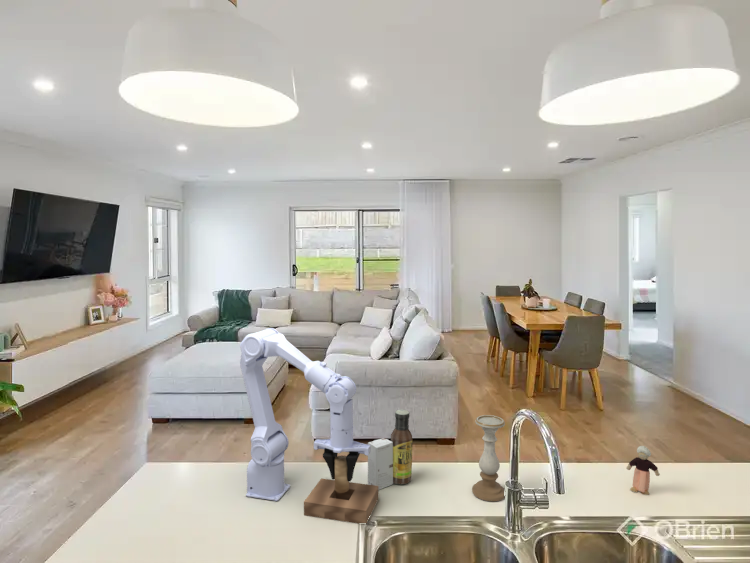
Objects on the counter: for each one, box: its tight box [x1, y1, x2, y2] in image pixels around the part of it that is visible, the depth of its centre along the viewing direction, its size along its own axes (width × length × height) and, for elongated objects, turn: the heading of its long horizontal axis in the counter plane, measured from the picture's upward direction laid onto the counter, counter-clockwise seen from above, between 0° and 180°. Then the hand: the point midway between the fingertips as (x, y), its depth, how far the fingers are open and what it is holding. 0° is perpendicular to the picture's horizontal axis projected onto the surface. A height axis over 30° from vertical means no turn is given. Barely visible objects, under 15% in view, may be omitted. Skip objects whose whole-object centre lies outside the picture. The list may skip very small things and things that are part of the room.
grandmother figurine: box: [626, 445, 661, 496], centre depth 128 cm, size 8×4×13 cm, turn 68°
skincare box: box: [367, 437, 394, 490], centre depth 132 cm, size 6×4×12 cm
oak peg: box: [334, 455, 349, 493], centre depth 121 cm, size 4×4×8 cm
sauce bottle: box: [390, 409, 413, 485], centre depth 134 cm, size 6×6×20 cm
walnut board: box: [303, 478, 380, 525], centre depth 122 cm, size 16×12×4 cm
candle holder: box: [471, 414, 506, 502], centre depth 127 cm, size 9×9×20 cm
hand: (342, 478), depth 121 cm, fingers closed on oak peg, 4 cm apart
